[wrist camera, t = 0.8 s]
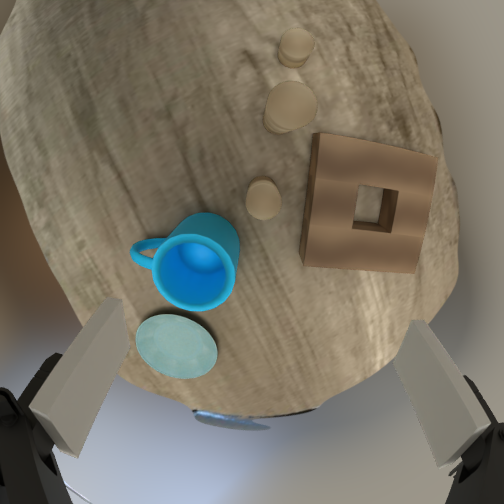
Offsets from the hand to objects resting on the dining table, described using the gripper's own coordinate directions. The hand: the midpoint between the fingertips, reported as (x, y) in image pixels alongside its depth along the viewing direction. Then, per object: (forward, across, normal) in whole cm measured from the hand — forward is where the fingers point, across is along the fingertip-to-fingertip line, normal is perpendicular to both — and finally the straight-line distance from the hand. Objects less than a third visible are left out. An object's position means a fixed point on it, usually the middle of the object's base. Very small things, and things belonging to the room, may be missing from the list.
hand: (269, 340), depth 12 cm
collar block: (+23, +12, +2) cm, 26 cm away
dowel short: (+23, +2, +18) cm, 30 cm away
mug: (+23, -8, -5) cm, 25 cm away
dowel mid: (+23, 0, +2) cm, 23 cm away
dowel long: (+23, +1, +10) cm, 25 cm away
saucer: (+23, -10, -20) cm, 32 cm away
